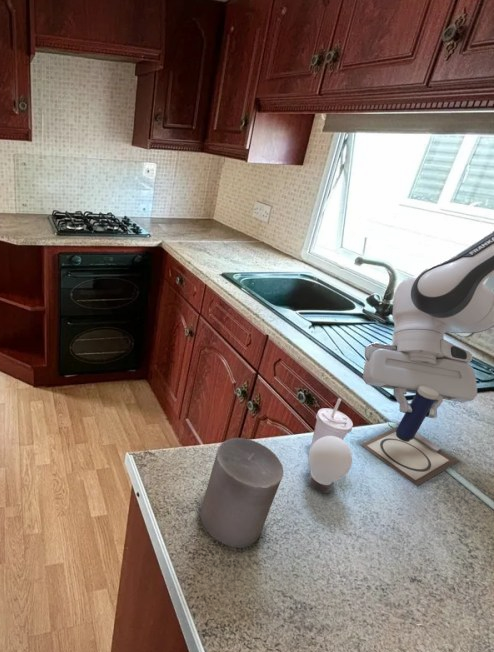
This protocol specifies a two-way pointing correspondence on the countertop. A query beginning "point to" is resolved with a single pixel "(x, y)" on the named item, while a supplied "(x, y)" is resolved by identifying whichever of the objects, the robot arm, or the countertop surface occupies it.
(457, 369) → the robot arm
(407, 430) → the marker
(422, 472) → the clipboard
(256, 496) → the pillar candle
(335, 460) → the light bulb
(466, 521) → the countertop surface
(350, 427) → the smoothie
